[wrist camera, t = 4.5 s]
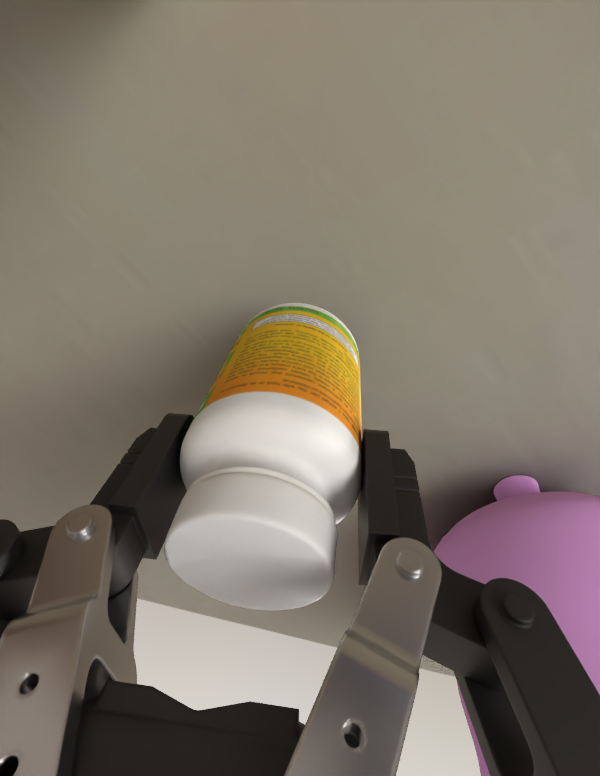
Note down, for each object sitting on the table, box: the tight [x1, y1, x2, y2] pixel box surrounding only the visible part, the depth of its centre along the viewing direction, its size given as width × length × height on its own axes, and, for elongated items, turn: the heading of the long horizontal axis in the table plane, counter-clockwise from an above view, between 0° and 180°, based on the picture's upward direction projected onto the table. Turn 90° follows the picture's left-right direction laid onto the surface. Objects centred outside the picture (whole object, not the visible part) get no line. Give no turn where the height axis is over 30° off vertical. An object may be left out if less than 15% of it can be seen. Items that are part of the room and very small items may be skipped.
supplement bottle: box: [164, 303, 362, 610], centre depth 12 cm, size 5×5×10 cm
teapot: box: [434, 475, 600, 776], centre depth 20 cm, size 20×14×12 cm
